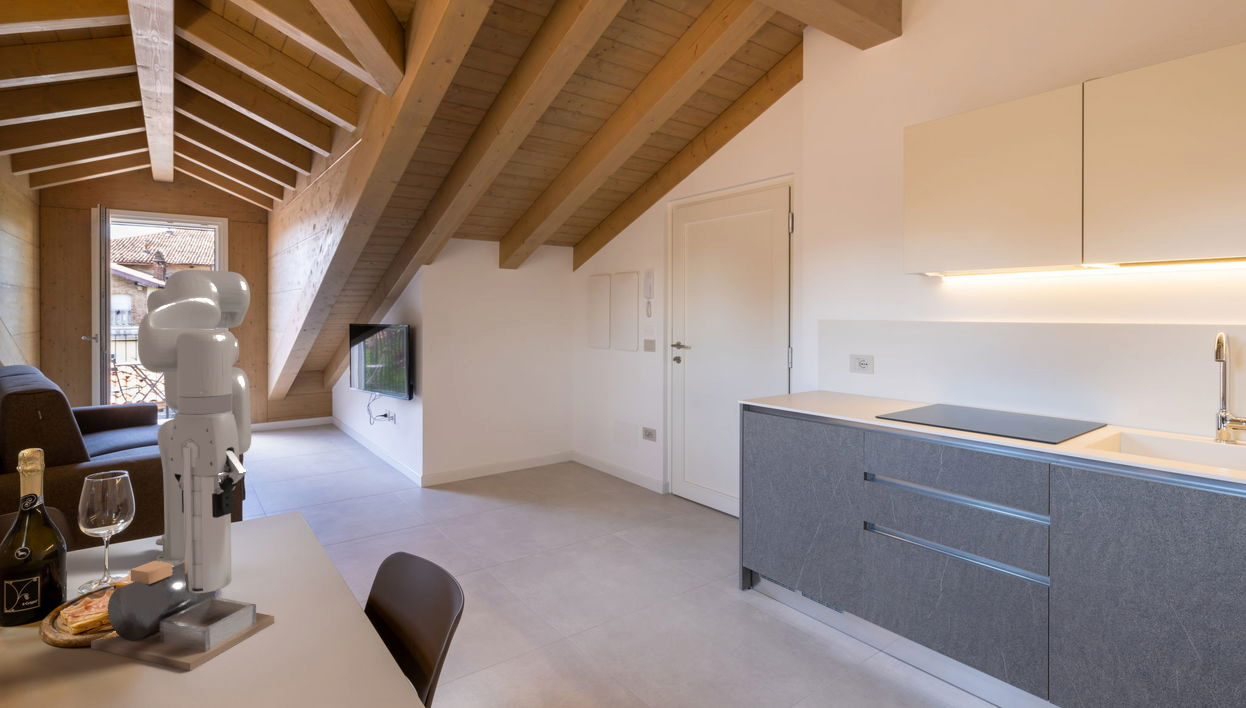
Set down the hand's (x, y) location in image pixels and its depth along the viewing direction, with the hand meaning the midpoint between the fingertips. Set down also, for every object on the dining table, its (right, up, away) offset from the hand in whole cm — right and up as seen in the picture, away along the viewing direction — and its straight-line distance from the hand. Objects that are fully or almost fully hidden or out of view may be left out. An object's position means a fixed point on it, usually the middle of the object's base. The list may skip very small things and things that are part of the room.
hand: (207, 512), depth 104 cm
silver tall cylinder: (0, -13, +1) cm, 13 cm away
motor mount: (-5, -22, +3) cm, 23 cm away
